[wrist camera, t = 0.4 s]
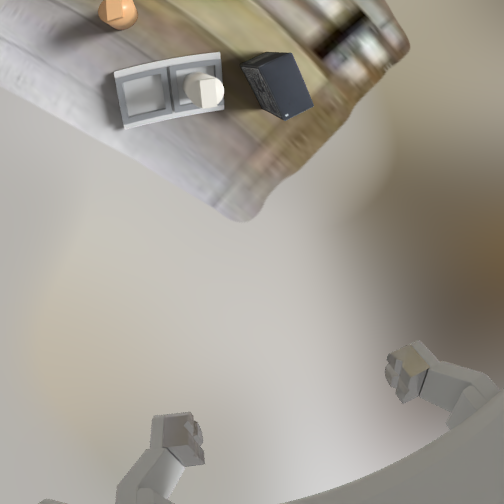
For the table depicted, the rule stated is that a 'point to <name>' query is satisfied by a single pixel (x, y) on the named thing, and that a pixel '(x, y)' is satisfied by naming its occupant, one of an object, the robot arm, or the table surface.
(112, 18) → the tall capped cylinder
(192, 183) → the table surface
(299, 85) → the small box
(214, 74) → the grey base with column
